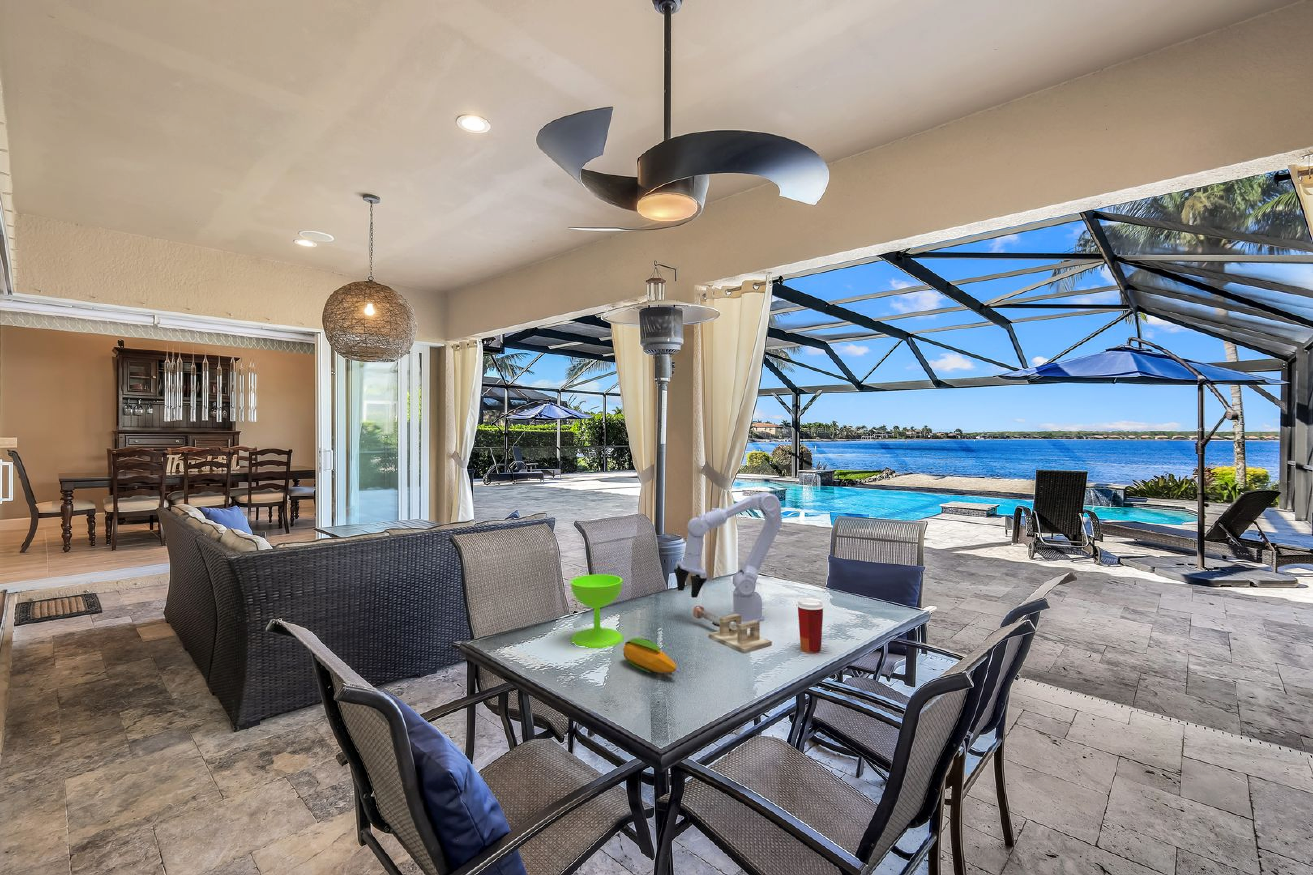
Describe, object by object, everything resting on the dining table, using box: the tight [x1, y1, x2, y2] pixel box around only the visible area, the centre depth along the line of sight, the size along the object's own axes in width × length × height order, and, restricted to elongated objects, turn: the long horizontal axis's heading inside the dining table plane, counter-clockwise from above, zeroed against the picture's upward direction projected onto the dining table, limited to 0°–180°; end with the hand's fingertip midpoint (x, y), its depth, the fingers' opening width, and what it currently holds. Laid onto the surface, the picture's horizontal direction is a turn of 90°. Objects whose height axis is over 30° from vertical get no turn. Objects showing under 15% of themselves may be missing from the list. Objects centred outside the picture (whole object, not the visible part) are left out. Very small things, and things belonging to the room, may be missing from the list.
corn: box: [622, 637, 677, 674], centre depth 150 cm, size 7×8×20 cm
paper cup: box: [796, 597, 825, 654], centre depth 164 cm, size 8×8×14 cm
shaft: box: [692, 605, 738, 630], centre depth 180 cm, size 18×4×4 cm, turn 34°
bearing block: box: [707, 614, 773, 654], centre depth 171 cm, size 16×11×6 cm
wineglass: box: [570, 573, 624, 649], centre depth 174 cm, size 16×16×18 cm
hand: (687, 593), depth 191 cm, fingers open, 7 cm apart
